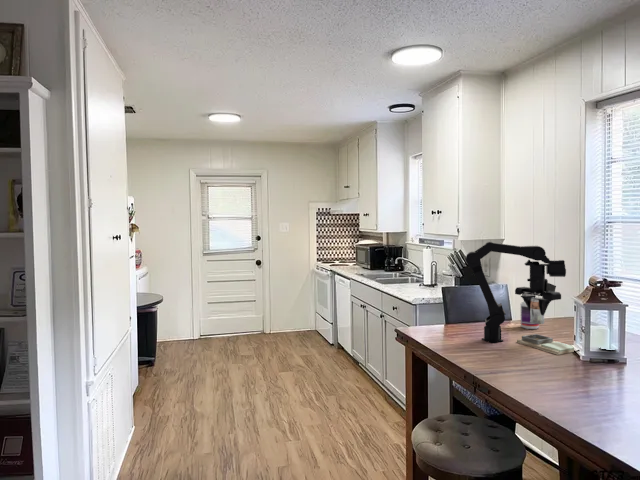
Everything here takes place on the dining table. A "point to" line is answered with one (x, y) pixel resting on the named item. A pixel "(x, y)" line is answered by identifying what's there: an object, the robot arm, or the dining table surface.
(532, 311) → the steel tin
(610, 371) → the dining table surface
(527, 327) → the pill bottle
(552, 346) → the pocket board
